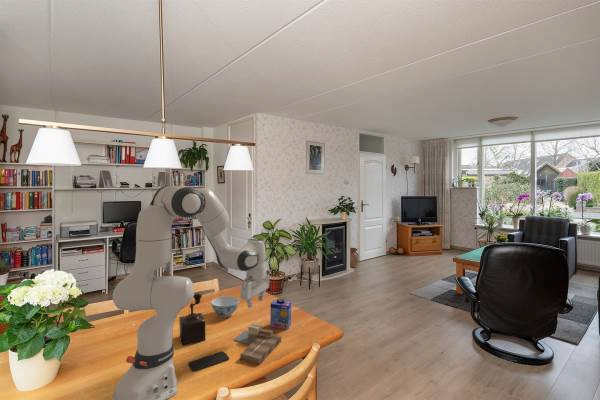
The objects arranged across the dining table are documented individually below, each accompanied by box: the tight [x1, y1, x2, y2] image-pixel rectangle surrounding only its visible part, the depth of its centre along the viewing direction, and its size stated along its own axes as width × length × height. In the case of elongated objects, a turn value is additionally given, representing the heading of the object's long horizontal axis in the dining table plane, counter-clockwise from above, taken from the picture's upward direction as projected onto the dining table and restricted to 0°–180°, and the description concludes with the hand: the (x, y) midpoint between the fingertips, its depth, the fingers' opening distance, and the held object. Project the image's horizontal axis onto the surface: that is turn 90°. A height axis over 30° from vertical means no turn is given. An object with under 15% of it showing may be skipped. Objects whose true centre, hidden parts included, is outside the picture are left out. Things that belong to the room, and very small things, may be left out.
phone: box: [187, 351, 230, 373], centre depth 122 cm, size 7×1×15 cm
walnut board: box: [239, 333, 282, 366], centre depth 131 cm, size 20×9×3 cm, turn 158°
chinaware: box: [210, 295, 240, 318], centre depth 166 cm, size 15×15×8 cm
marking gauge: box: [247, 322, 273, 341], centre depth 139 cm, size 4×11×6 cm, turn 68°
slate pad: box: [232, 330, 254, 346], centre depth 141 cm, size 10×11×1 cm
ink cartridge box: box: [269, 298, 292, 330], centre depth 154 cm, size 10×6×14 cm, turn 78°
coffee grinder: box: [178, 292, 207, 346], centre depth 142 cm, size 16×11×18 cm
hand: (255, 303), depth 139 cm, fingers open, 8 cm apart
